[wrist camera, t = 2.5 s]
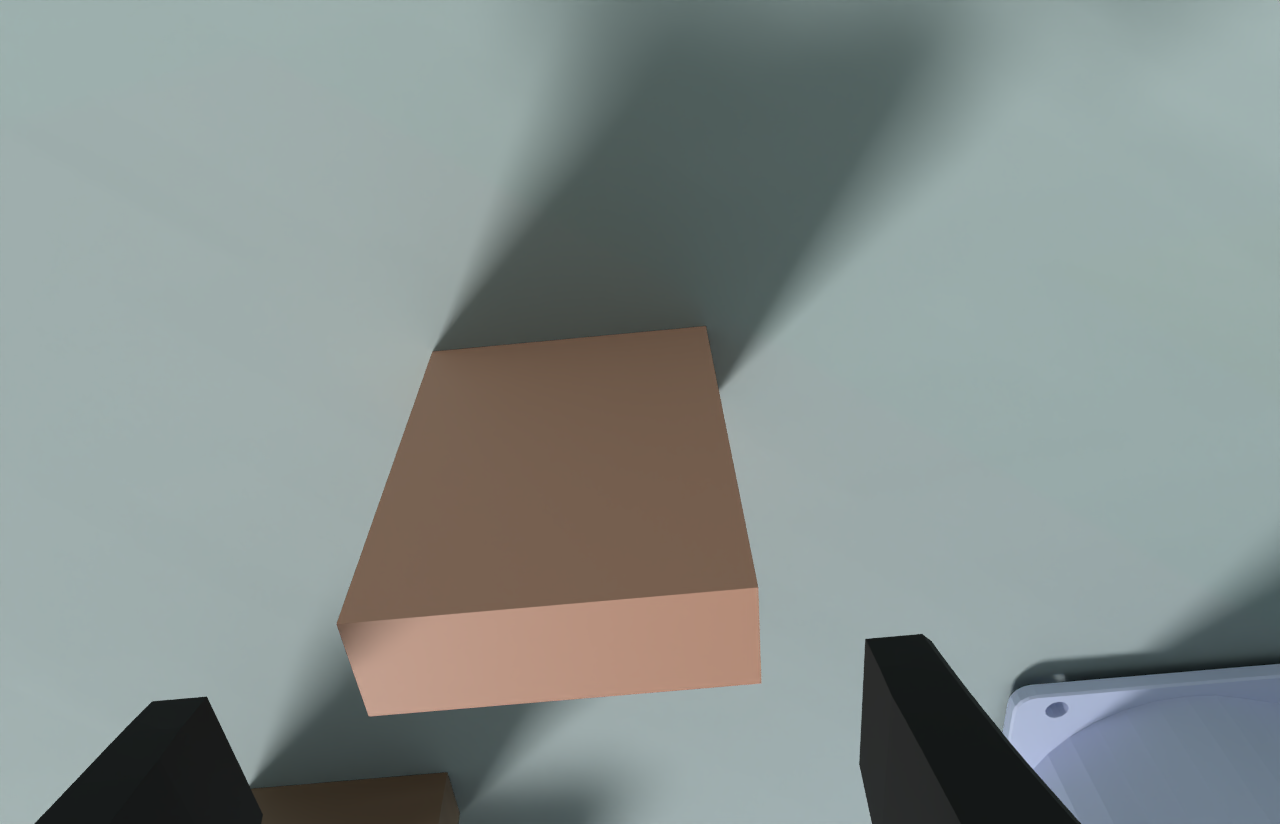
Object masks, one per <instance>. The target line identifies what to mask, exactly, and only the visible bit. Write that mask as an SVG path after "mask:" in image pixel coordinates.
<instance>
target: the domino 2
mask: <svg viewBox="0 0 1280 824" xmlns="http://www.w3.org/2000/svg"><path fill="white" fill-rule="evenodd" d="M337 627H338V630H339V633H340V636H341V639H342V641H343V644H344V647H345V650H346V653H347V656H348V659H349V661H350V664H351V667H352V670H353V673H354V676H355V679H356V681H357V684H358V687H359V690H360V693H361V696H362V698H363V701H364V704H365V707H366V710H367V713H368V716H381V715H393V714H405V713H417V712H428V711H440V710H452V709H464V708H476V707H488V706H499V705H511V704H523V703H535V702H547V701H559V700H570V699H582V698H594V697H606V696H618V695H630V694H641V693H653V692H665V691H677V690H689V689H701V688H712V687H724V686H736V685H748V684H760V683H761V660H760V629H759V599H758V584H757V579H756V574H755V569H754V564H753V559H752V554H751V549H750V544H749V539H748V534H747V529H746V524H745V519H744V514H743V509H742V504H741V499H740V494H739V489H738V484H737V479H736V474H735V469H734V464H733V459H732V454H731V449H730V444H729V439H728V434H727V429H726V424H725V419H724V414H723V409H722V404H721V399H720V394H719V389H718V384H717V379H716V374H715V369H714V364H713V359H712V354H711V349H710V344H709V339H708V334H707V329H706V326H701V327H690V328H679V329H668V330H658V331H647V332H636V333H626V334H615V335H604V336H594V337H583V338H572V339H561V340H551V341H540V342H529V343H519V344H508V345H497V346H487V347H476V348H465V349H455V350H444V351H433V352H432V354H431V357H430V360H429V363H428V366H427V369H426V371H425V374H424V377H423V380H422V383H421V386H420V388H419V391H418V394H417V397H416V400H415V403H414V405H413V408H412V411H411V414H410V417H409V420H408V422H407V425H406V428H405V431H404V434H403V437H402V440H401V442H400V445H399V448H398V451H397V454H396V457H395V459H394V462H393V465H392V468H391V471H390V474H389V476H388V479H387V482H386V485H385V488H384V491H383V493H382V496H381V499H380V502H379V505H378V508H377V510H376V513H375V516H374V519H373V522H372V525H371V528H370V530H369V533H368V536H367V539H366V542H365V545H364V547H363V550H362V553H361V556H360V559H359V562H358V564H357V567H356V570H355V573H354V576H353V579H352V581H351V584H350V587H349V590H348V593H347V596H346V598H345V601H344V604H343V607H342V610H341V613H340V616H339V618H338V621H337Z"/></svg>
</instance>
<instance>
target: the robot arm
mask: <svg viewBox="0 0 1280 824" xmlns="http://www.w3.org/2000/svg"><path fill="white" fill-rule="evenodd" d="M859 765H860V769H861V774H862V779H863V783H864V788H865V793H866V797H867V802H868V807H869V812H870V816H871V821H872V824H1280V664H1271V665H1259V666H1247V667H1236V668H1224V669H1212V670H1200V671H1188V672H1176V673H1164V674H1153V675H1141V676H1129V677H1117V678H1105V679H1093V680H1082V681H1070V682H1058V683H1046V684H1034V685H1028V686H1023V687H1021V688H1019V689H1017V690H1016V691H1015V692H1014V693H1013V694H1012V695H1011V696H1010V698H1009V700H1008V704H1007V710H1006V716H1005V722H1004V728H1003V733H1002V732H1001V731H1000V729H999V728H998V727H997V726H996V724H995V723H994V722H993V721H992V720H991V718H990V717H989V716H988V715H987V713H986V712H985V711H984V710H983V708H982V707H981V706H980V705H979V703H978V702H977V701H976V700H975V698H974V697H973V696H972V695H971V693H970V692H969V691H968V689H967V688H966V687H965V686H964V684H963V683H962V682H961V680H960V679H959V678H958V676H957V675H956V674H955V672H954V671H953V670H952V668H951V667H950V666H949V664H948V663H947V662H946V660H945V659H944V658H943V656H942V655H941V654H940V652H939V651H938V650H937V648H936V647H935V645H934V644H933V643H932V641H930V640H929V639H928V638H927V637H925V636H924V635H923V634H917V635H906V636H895V637H883V638H872V639H865V659H864V680H863V700H862V721H861V742H860V762H859ZM262 817H263V814H262V812H261V809H260V807H259V805H258V803H257V801H256V799H255V797H254V795H253V793H252V791H251V788H250V786H249V784H248V782H247V780H246V778H245V776H244V774H243V772H242V770H241V767H240V765H239V763H238V761H237V759H236V757H235V755H234V753H233V751H232V749H231V746H230V744H229V742H228V740H227V738H226V736H225V734H224V732H223V730H222V728H221V725H220V723H219V721H218V719H217V717H216V715H215V713H214V711H213V709H212V707H211V704H210V702H209V700H208V698H207V697H198V698H187V699H175V700H164V701H153V702H151V703H150V704H149V705H148V706H147V707H146V708H145V709H144V710H143V711H142V712H141V713H140V714H139V715H138V716H137V717H136V718H135V719H134V720H133V721H132V722H131V723H130V724H129V725H128V726H127V727H126V728H125V729H124V730H123V732H122V733H121V734H120V735H119V736H118V737H117V738H116V739H115V740H114V741H113V742H112V743H111V744H110V745H109V746H108V747H107V748H106V749H105V750H104V751H103V752H102V753H101V754H100V756H99V757H98V758H97V759H96V760H95V761H94V762H93V763H92V764H91V765H90V766H89V767H88V768H87V769H86V770H85V771H84V772H83V773H82V774H81V776H80V777H79V778H78V779H77V780H76V781H75V782H74V783H73V784H72V785H71V786H70V787H69V788H68V789H67V790H66V791H65V792H64V793H63V794H62V796H61V797H60V798H59V799H58V800H57V801H56V802H55V803H54V804H53V805H52V806H51V807H50V808H49V809H48V810H47V811H46V812H45V813H44V814H43V815H42V816H41V817H40V818H39V820H38V821H37V822H36V823H35V824H261V822H262Z"/></svg>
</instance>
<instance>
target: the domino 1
mask: <svg viewBox="0 0 1280 824" xmlns="http://www.w3.org/2000/svg"><path fill="white" fill-rule="evenodd" d="M251 791H252V793H253V795H254V797H255V799H256V801H257V803H258V805H259V807H260V809H261V812H262V814H263V817H262V822H261V824H458V821H459V815H460V812H459V809H458V806H457V802H456V799H455V796H454V792H453V789H452V786H451V782H450V779H449V776H448V772H445V773H433V774H421V775H409V776H397V777H386V778H374V779H362V780H350V781H338V782H326V783H314V784H302V785H290V786H278V787H266V788H254V789H251Z"/></svg>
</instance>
